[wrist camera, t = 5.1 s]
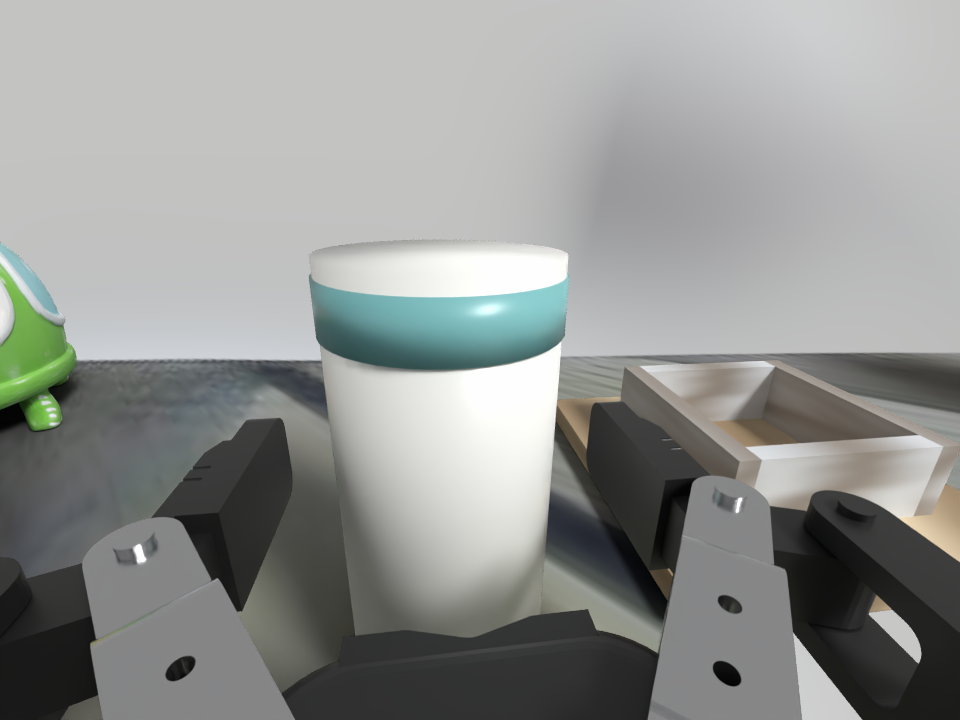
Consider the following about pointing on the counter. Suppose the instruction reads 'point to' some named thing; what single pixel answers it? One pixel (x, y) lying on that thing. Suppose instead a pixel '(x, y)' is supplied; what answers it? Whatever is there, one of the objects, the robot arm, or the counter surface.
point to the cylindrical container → (441, 425)
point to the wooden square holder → (790, 441)
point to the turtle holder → (30, 344)
